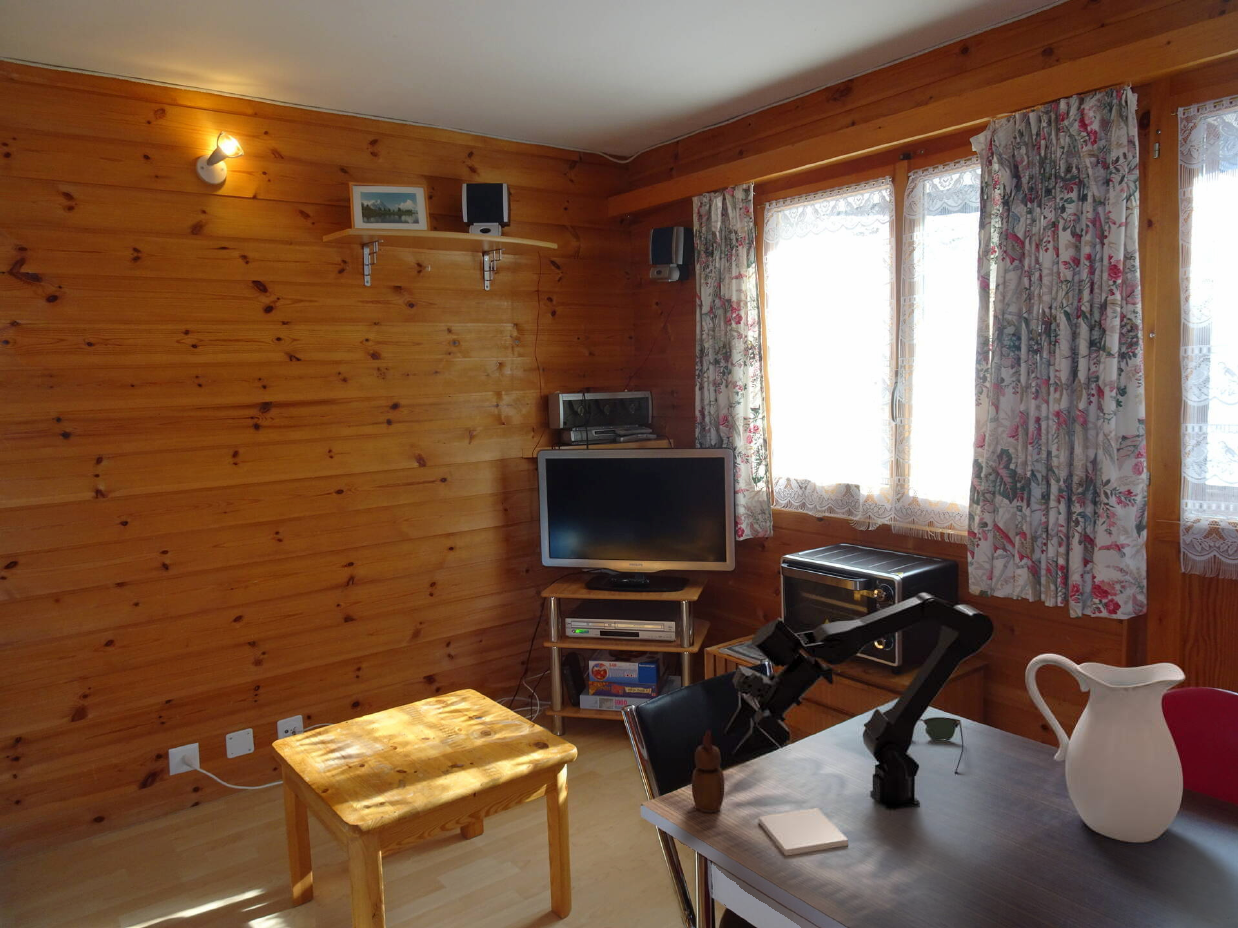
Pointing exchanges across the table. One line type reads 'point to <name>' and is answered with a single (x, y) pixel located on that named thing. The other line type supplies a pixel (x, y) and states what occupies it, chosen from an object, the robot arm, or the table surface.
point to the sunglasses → (942, 729)
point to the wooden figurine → (708, 777)
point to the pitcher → (1119, 748)
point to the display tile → (802, 831)
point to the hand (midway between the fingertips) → (730, 744)
